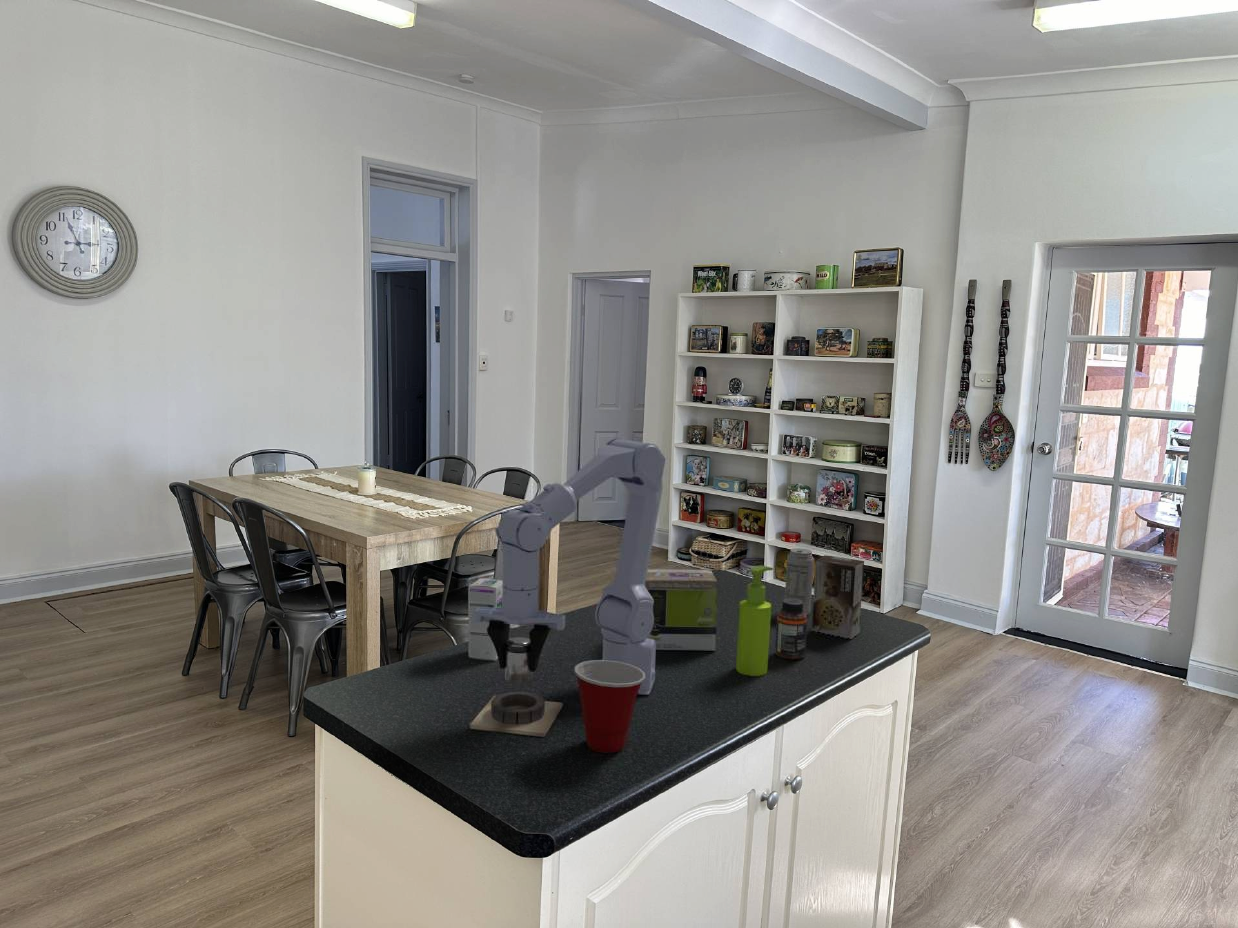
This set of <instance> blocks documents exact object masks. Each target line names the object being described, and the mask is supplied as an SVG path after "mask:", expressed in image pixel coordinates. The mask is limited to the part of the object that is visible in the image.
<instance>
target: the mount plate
mask: <svg viewBox="0 0 1238 928" xmlns="http://www.w3.org/2000/svg"><path fill="white" fill-rule="evenodd" d="M562 708H563V702H559V701H558V702H557V701H546V700H544V698H543V696H541V695H539V694H536V693H534V692H530V691H521V690H519V691H517V690H516V691H508V692H506V693H505V692H503V693H500V694H498V695H492V698H491V699H490V700H489V701H488V702H487V703H486V705H485V706H484V707H483V709H481V711H480V712H479V713H478V714H477V715H476V717H475V718H474V719H473V720H472V721H471V723H470V724H469V729H472V730H481V731H488V732H489V731H490V732H498V733H506V734H514V735H515V734H516V735H523V736H524V735H525V736H533V737H542V738H545V736H546V735H547V733H548V731H549V729H550V727H551V726H552V724H553V722H554V721H555V720H556V718H557V716H558V715H559V713H560V711H561V710H562Z"/></svg>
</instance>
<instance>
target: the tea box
mask: <svg viewBox="0 0 1238 928" xmlns="http://www.w3.org/2000/svg"><path fill="white" fill-rule="evenodd" d="M718 585H719V582H718V580H717V578H716V577H715V575H714V573H713V572H712V569H699V568H698V569H696V568H695V569H691V568H689V569H688V568H687V569H686V568H685V569H684V568H683V569H682V568H648V571H647V576H646V581H645V587H646V589H647V590H648V592H649V593H650V595H651V596H652V598H653V600H654V604H653V615H654V624H653V628H652V630H651V632H650V634H649V635H648V636H647V638H649V639H653V640H655V642H656V651H657V650H658V651H661V650H662V651H712V652H714V651H716V650H717V649H716V647H717V625H718V624H717V621H718V595H719V593H718V592H719V591H718V587H719V586H718Z"/></svg>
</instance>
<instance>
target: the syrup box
mask: <svg viewBox="0 0 1238 928" xmlns="http://www.w3.org/2000/svg"><path fill="white" fill-rule="evenodd" d="M502 588H503V579H497V578H490V577H487V578H486V577H484V578H481V577H480V578H478V579H477V580H476V581H474V582H473V583H471V584H470V585H468V588H467V589H468V590H467V592H468V595H467V597H468V603H467V604H468V605H467V607H468V614H467V615H468V617H467V618H468V619H467V621H468V631H467V632H468V645H467V646H468V657H469V658H470V659H476V660H482V661H483V660H484V661H495V662H496V661H497V660H498V656H497V652H496V649H495V647H494V644H493V642H492V640H491V638H490V636H489V635H488V633H487V628H488V627H489V622H484V621H482V622H475V610H476V609H477V608H479V607H482V608H502Z"/></svg>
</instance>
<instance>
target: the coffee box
mask: <svg viewBox="0 0 1238 928" xmlns="http://www.w3.org/2000/svg"><path fill="white" fill-rule="evenodd" d="M814 564H815V565H814V584H813V585H814V587H813V602H812V604H813V605H812V616H811V617H812V618H811V630H812V631H815V632H814V633H817V632H822V633H825V634H824V635H827V634H831V635H830V636H832V635H834V636H833V637H837V636H840V637H839V638H842V637H843V639H847V638H849V639H848V640H852V639H853V638H855V637H854V636H858V635H859V634H860V629H861V613H862V611H861V610H862V599H863V598H862V597H863V583H864V581H863V580H864V567H865V566H864V565H865V561H864V560H859V559H852V558H847V557H840V556H834V555H833V556H832V555H826V554H825V555H822V556H821V557H819V558H818V559H817V560H814ZM812 631H811V632H812ZM822 633H821V634H822Z"/></svg>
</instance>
